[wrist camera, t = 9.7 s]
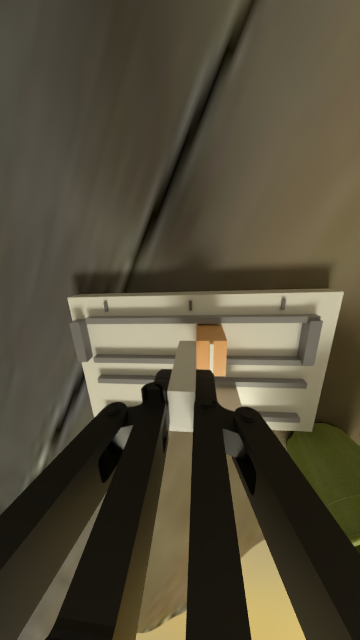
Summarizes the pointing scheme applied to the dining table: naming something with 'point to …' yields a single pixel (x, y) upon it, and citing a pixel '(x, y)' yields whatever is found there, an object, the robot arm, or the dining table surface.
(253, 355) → the fader panel
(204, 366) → the fader knob
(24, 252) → the dining table surface
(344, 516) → the plant pot
